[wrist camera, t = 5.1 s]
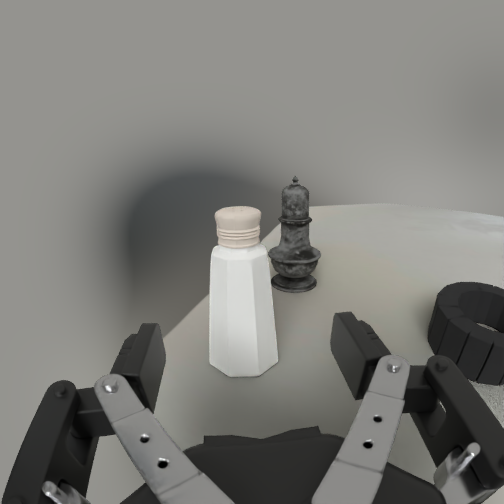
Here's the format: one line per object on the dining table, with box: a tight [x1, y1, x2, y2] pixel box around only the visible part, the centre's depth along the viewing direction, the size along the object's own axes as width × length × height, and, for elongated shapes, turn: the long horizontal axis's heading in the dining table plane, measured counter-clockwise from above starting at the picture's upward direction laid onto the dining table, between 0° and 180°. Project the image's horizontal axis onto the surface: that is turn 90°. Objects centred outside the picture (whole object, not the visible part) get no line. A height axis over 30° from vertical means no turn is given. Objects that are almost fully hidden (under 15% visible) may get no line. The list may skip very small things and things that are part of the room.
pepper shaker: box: [210, 206, 278, 377], centre depth 19 cm, size 5×5×11 cm
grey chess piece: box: [268, 176, 321, 292], centre depth 32 cm, size 6×6×12 cm
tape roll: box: [428, 282, 504, 385], centre depth 18 cm, size 12×12×4 cm
